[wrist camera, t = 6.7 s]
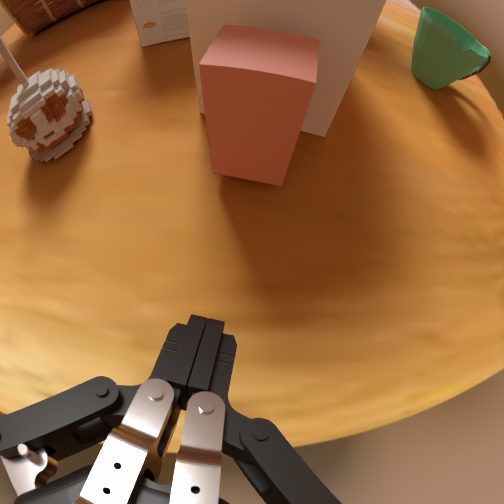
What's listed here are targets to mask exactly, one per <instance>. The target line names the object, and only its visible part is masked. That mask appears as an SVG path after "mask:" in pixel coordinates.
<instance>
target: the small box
mask: <svg viewBox="0 0 504 504" xmlns="http://www.w3.org/2000/svg"><path fill="white" fill-rule="evenodd" d="M129 1H130V5H131V9H132V13H133V16H134V20H135V24H136V28H137V31H138V35H139V38H140V42H141V45H142V47H145V46H149V45H153V44H158V43H162V42H167V41H171V40H177V39H182V38H188V37H190V34H189V26H188V17H187V8H186V0H129Z"/></svg>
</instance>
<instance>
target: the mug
mask: <svg viewBox="0 0 504 504" xmlns="http://www.w3.org/2000/svg"><path fill="white" fill-rule="evenodd" d="M490 59H491V54H490V52H489V51H488V49H487V48H486V47H484V46H483V45H481V44H480V43H479V42H478V41H477V40H476V39H475V38H474V37H473V36H472V35H471V34H470V33H469V32H467V31H466V30H465V29H464V28H463V27H462V26H460V25H459V24H458V23H456V22H455V21H454V20H452V19H451V18H449V17H447V16H446V15H444V14H442V13H441V12H439V11H437V10H435V9H432V8H429V7H423V9H422V11H421V14H420V18H419V23H418V28H417V32H416V36H415V39H414V46H413V52H412V64H411V70H412V72H413V74H414V75H415V76H416V77H417V79H419V80H420V81H421V82H422V83H423V84H425V85H426V86H428V87H430V88H432V89H440V88H442V87H444V86H446V85H449V84H451V83H453V82H455V81H456V80H463V79H466V78H468V77H470V76H472V75H475V74H477V73H479V72H481V71H482V70H483V69H484V68H485V67H486V66H487V65H488V64H489V63H490Z"/></svg>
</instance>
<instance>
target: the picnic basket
mask: <svg viewBox="0 0 504 504" xmlns="http://www.w3.org/2000/svg"><path fill="white" fill-rule="evenodd" d="M97 1H100V0H0V4H1V5H2V7H3V8H4V9H5V11H6V12H7V13H8V14H9V16H10V17H11V18H12V19H13V21H14V22H15V23H16V24H17V26H18V27H19V28H20V29H21V30H22V32H23V33H24V34H25V35H26V36H29V37H31V36H34V35H35V34H36V33H37V32H38V31H40V30H41V29H43V28H45V27H46V26H48V25H50V24H52V23H53V22H55V21H57V20H59V19H61V18H63V17H65V16H67V15H69V14H71V13H73V12H75V11H77V10H79V9H81V8H84V7H86V6H88V5H90V4H93V3H95V2H97Z"/></svg>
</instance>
